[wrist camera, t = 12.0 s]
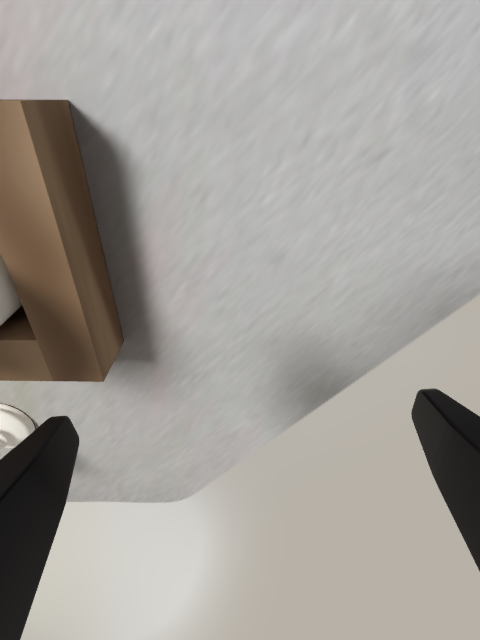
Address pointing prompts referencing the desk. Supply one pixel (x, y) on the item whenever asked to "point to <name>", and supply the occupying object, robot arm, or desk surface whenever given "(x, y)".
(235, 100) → the desk surface
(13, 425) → the chess piece
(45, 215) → the bored block
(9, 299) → the can
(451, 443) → the robot arm
